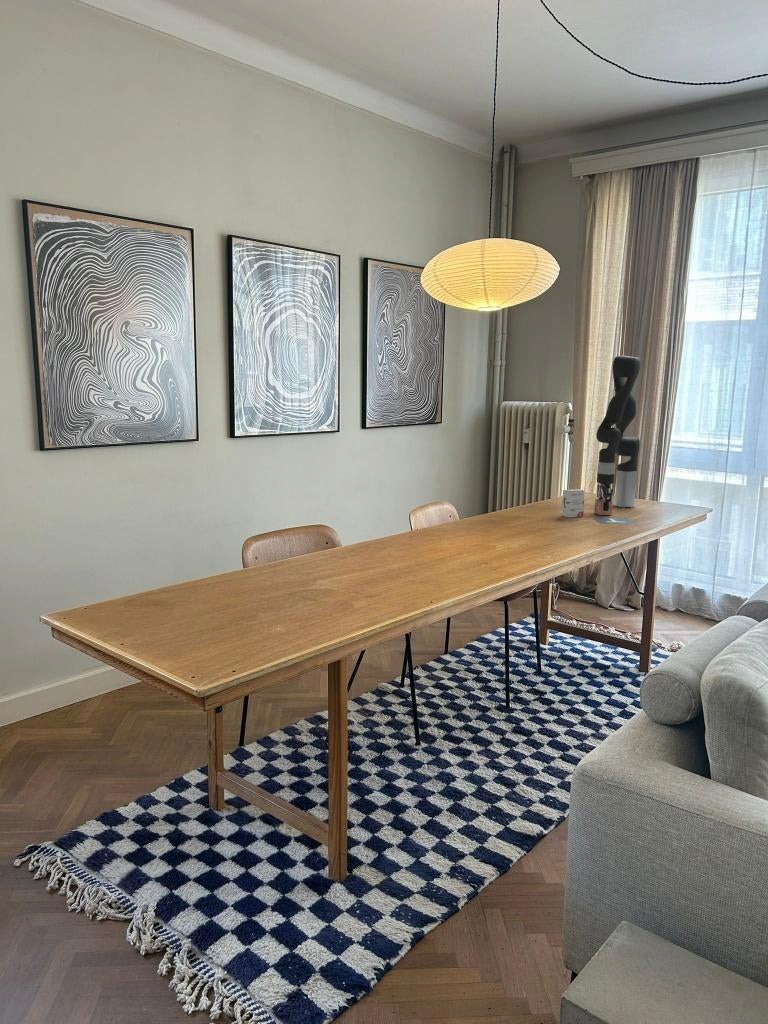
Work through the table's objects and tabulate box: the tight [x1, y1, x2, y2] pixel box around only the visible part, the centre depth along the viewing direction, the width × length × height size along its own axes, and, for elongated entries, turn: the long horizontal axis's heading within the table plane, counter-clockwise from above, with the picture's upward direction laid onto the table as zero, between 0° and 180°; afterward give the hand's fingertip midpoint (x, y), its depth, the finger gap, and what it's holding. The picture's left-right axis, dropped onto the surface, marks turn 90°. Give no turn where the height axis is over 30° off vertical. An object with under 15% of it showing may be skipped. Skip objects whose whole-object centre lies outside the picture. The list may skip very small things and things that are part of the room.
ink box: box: [561, 488, 585, 518], centre depth 340 cm, size 9×5×12 cm, turn 116°
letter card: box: [589, 516, 638, 525], centre depth 331 cm, size 16×16×1 cm
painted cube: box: [593, 498, 614, 516], centre depth 345 cm, size 6×6×6 cm
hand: (603, 509), depth 345 cm, fingers open, 6 cm apart
